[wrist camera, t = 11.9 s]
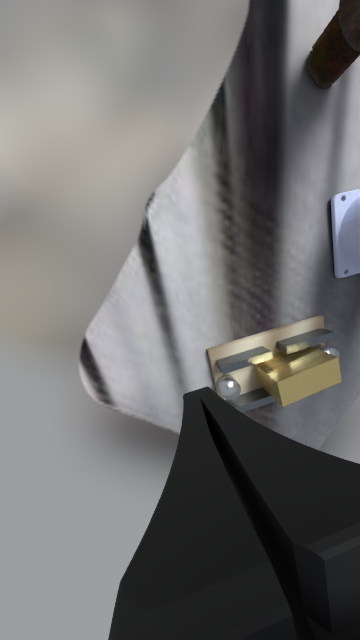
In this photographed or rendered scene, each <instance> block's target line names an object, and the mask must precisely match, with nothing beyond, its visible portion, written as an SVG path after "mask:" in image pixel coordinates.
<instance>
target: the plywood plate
mask: <svg viewBox="0 0 360 640" xmlns="http://www.w3.org/2000/svg"><path fill="white" fill-rule="evenodd" d="M319 328H322V329H324V317H323V316H320V315H318V316H315V317H311V318H308V319H305V320H301V321H298V322H295V323H292V324H288V325H285V326H282V327H278V328H275V329H272V330H268V331H265V332H262V333H258V334H255V335H252V336H248V337H245V338H242V339H238V340H235V341H232V342H228V343H225V344H222V345H218V346H215V347H212V348H208V349H207V352H208V356H209V361H210V365H211V369H212V373H213V378H214V382H215V386H216V382H217V379H218V378H219V377H220V376H221V375H223V374H222V373H221V372H220V370H219V369H218V368H217V364H216V360H218V359H221V358H224V357H228V356H231V355H234V354H237V353H241V352H244V351H247V350H250V349H254V348H257V347H260V346H263V347H265V348H267V349H269V350H270V351H272V355H274V354H277V353H279V352H282V351H281V350H279V349H277V344H276V341H280V340H283V339H286V338H289V337H293V336H296V335H299V334H302V333H306V332H309V331H312V330H315V329H319ZM321 344H322V345H324V346H326V344H325V342H324V343H321ZM312 347H314V346H312ZM226 374H230V375H232V376H233V378H234V379H235V380H236V381H237V382H238V383H239V385H240V386H241V393H240V395H241V394H244V393H247V392H250V391H253V390H256V389H259V388H262V386H261V385H260V384H259V383H258V380H257V376H256V372H255V368H254V365H251V366H248V367H245V368H242V369H239V370H236V371H232V372H229V373H226ZM216 391H217V394H218V395H219V396H220V397H221V398H222V399H224V400H226V399H225V398H224V397H223V396H222V394H221V393H220V391H219V389H218V388H217V386H216Z"/></svg>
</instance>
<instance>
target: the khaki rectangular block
mask: <svg viewBox="0 0 360 640" xmlns="http://www.w3.org/2000/svg"><path fill="white" fill-rule="evenodd" d="M272 357H273V359H270V360H267V361H264V362H261V363H258V364H255V365H254V368H255V372H256V376H257V380H258V383H259V384H260V385H261V386H262V387H263V388H264V389H265V390H266V391H267V392H268V393H269V394H270V395H271V396H272V397H273V398H274V399H275V400H276V401H277V402H279V403H280V404H281V405H282V406H283V407H284V406H286V405H289V404H291V403H293V402H296V401H298V400H300V399H303V398H305V397H307V396H310V395H312V394H315V393H317V392H319V391H322V390H324V389H326V388H329V387H331V386H333V385H336V384H338V383H340V382H342V379H341V372H340V365H339V358H338V357H337V356H334V355H332V354H329V353H327V352H325V351H322V350H320V349H317V348H315V347H312V346H311V347H308V348H305V349H302V350H299V351H296V352H292V353H289V354H287V353H285V352H283V351H282V352H279V353H277V354H274V355H272Z"/></svg>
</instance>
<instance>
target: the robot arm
mask: <svg viewBox="0 0 360 640" xmlns="http://www.w3.org/2000/svg"><path fill="white" fill-rule="evenodd" d="M341 198H342V200H341ZM331 214H332V232H333V250H334V268H335V276H336V278H344V277H347V276H351V275H354V274H358V273H360V189H356V190H352V191H348V192H344V193H339V194H337V195H334V196H333V197H332V199H331ZM344 271H345V273H344ZM183 399H184V409H183V419H182V426H181V432H180V436H179V441H178V446H177V450H176V454H175V457H174V460H173V464H172V467H171V470H170V473H169V476H168V479H167V482H166V485H165V487H164V490H163V492H162V495H161V497H160V500H159V502H158V504H157V507H156V509H155V511H154V514H153V516H152V518H151V521H150V523H149V525H148V527H147V529H146V532H145V534H144V536H143V538H142V540H141V542H140V544H139V546H138V548H137V550H136V552H135V554H134V556H133V558H132V560H131V562H130V564H129V566H128V568H127V570H126V572H125V573H124V576H123V577H122V579H121V581H120V585H119V589H118V594H117V599H116V603H115V608H114V613H113V618H112V623H111V629H110V634H109V639H108V640H360V464H358V463H354V462H351V461H348V460H344V459H341V458H338V457H336V456H333V455H330V454H327V453H324V452H321V451H319V450H316V449H313V448H311V447H308V446H306V445H303V444H301V443H299V442H296V441H294V440H292V439H289V438H287V437H285V436H283V435H280V434H278V433H276V432H274V431H272V430H270V429H269V428H267V427H265V426H263V425H261V424H259V423H258V422H256V421H254V420H253V419H251V418H249V417H248V416H246V415H245V414H243V413H242V412H240V411H239V410H237V409H236V408H234V407H233V406H232V405H230V404H229V403H228V402H226V401H225V400H224V399H222V398H221V397H220V396H219V395H218V394H216V393H215V392H214V391H213V390H212V389H211V388H209V387H204V388H201V389H198V390H195V391H192V392H189V393H186V394H184V396H183Z"/></svg>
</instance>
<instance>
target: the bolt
mask: <svg viewBox="0 0 360 640" xmlns="http://www.w3.org/2000/svg"><path fill="white" fill-rule="evenodd" d="M312 48H313V50H312V51H310V55H309V58H308V62H307V70H308V71H309V73H310V74H311V76H312V77H313V79H314V80H315V82H316V83H317V85H318V86H319V87H321V88H327V87H329V86H331V84H332V83H334V82H335V81H336V80H337V79H338V78H339V77H340V76H341V75H342V74H343V73H344V71H345V70H346V69H347V68H348V67H349V66H350V65H351V64H352V63H353V62H354V61H355V60H356V59H357V58H358V56H359V55H360V0H340V4H339V10H338V11H337V12H336V14H335V15H334V17H333V18H332V20H331V21H330V22H329V24H328V25H327V27H326V28H325V29H324V31H323V33H322V34H321V35H320V37H319V38H318V39H317V41H316V43H315V44H314V45H313V47H312Z"/></svg>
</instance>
